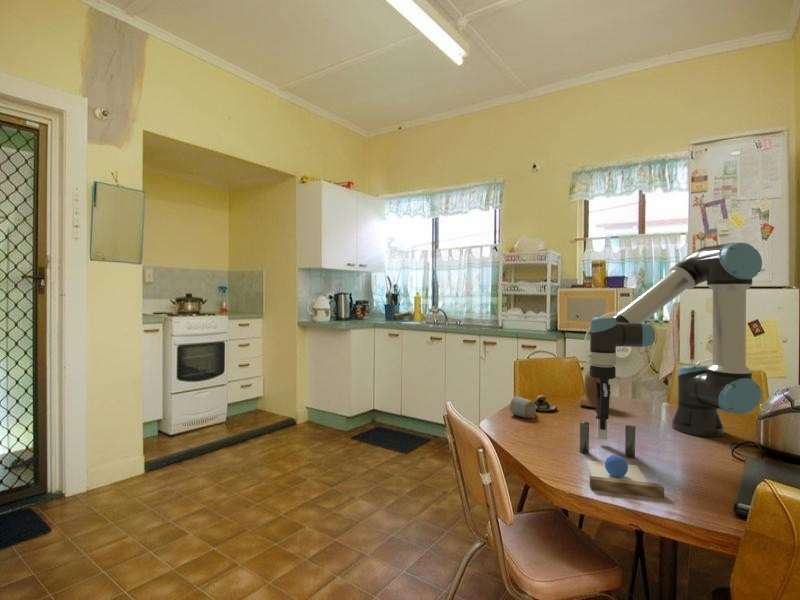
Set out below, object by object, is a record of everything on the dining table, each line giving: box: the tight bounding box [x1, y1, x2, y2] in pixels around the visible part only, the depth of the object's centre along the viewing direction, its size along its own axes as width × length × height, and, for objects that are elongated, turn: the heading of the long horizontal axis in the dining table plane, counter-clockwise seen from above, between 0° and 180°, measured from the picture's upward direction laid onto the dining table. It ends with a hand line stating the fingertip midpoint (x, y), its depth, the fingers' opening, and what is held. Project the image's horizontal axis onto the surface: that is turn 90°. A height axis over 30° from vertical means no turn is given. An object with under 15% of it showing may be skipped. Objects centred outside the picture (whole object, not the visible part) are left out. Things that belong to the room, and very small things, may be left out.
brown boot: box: [578, 370, 610, 409], centre depth 188 cm, size 15×12×15 cm
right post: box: [624, 424, 636, 459], centre depth 128 cm, size 3×3×9 cm
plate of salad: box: [533, 392, 558, 412], centre depth 182 cm, size 12×12×8 cm
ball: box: [604, 454, 629, 477], centre depth 114 cm, size 6×6×6 cm
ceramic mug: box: [509, 395, 538, 419], centre depth 171 cm, size 10×8×7 cm
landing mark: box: [586, 460, 648, 482], centre depth 117 cm, size 13×13×1 cm
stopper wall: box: [589, 475, 665, 499], centre depth 105 cm, size 16×2×2 cm, turn 74°
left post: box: [579, 421, 590, 455], centre depth 132 cm, size 3×3×9 cm
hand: (601, 438), depth 139 cm, fingers closed
